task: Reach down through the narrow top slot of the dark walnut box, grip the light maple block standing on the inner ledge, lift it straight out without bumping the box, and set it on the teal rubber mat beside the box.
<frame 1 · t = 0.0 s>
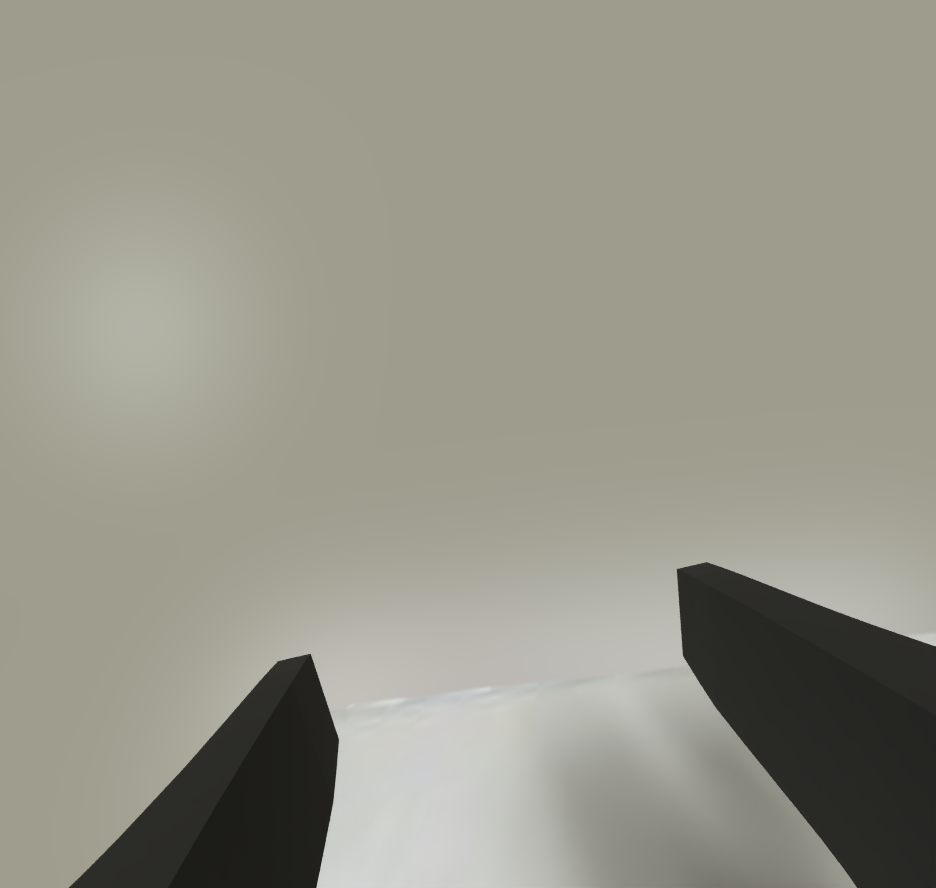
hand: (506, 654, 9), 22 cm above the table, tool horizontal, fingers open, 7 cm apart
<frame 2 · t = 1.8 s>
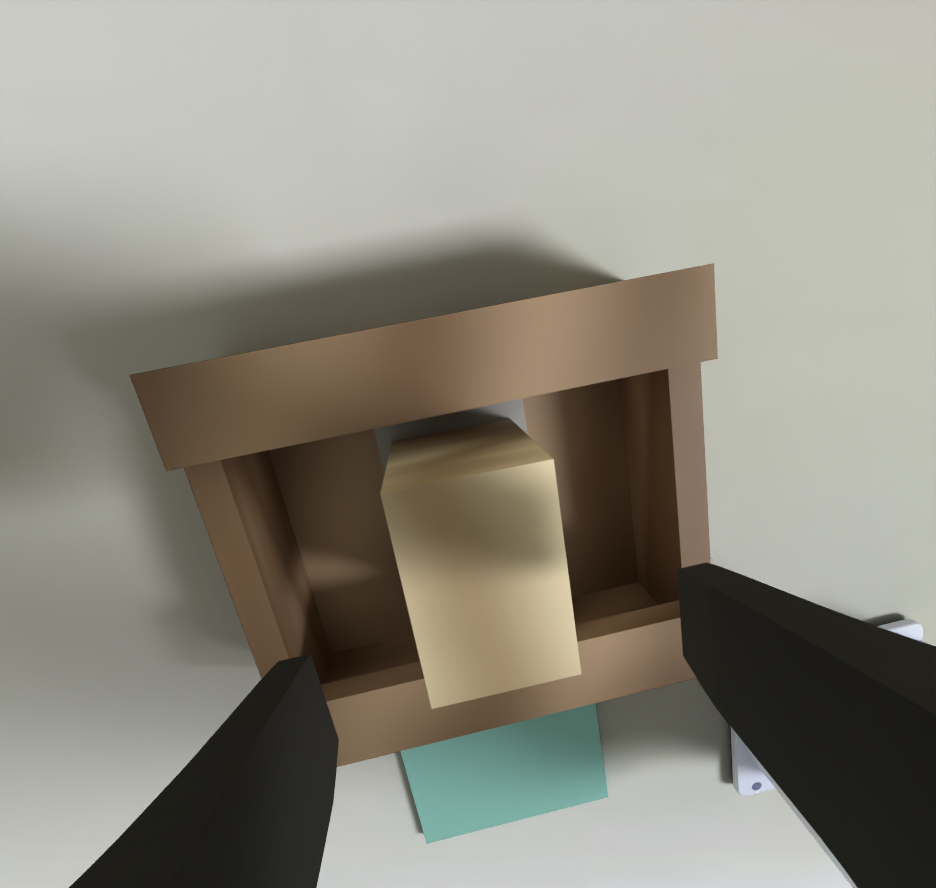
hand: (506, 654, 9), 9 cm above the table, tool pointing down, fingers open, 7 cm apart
slotted box: (461, 485, 18), on the table, touching maple block
maple block: (467, 512, 16), point 2 cm above the table, touching slotted box
teal mat: (501, 739, 21), on the table
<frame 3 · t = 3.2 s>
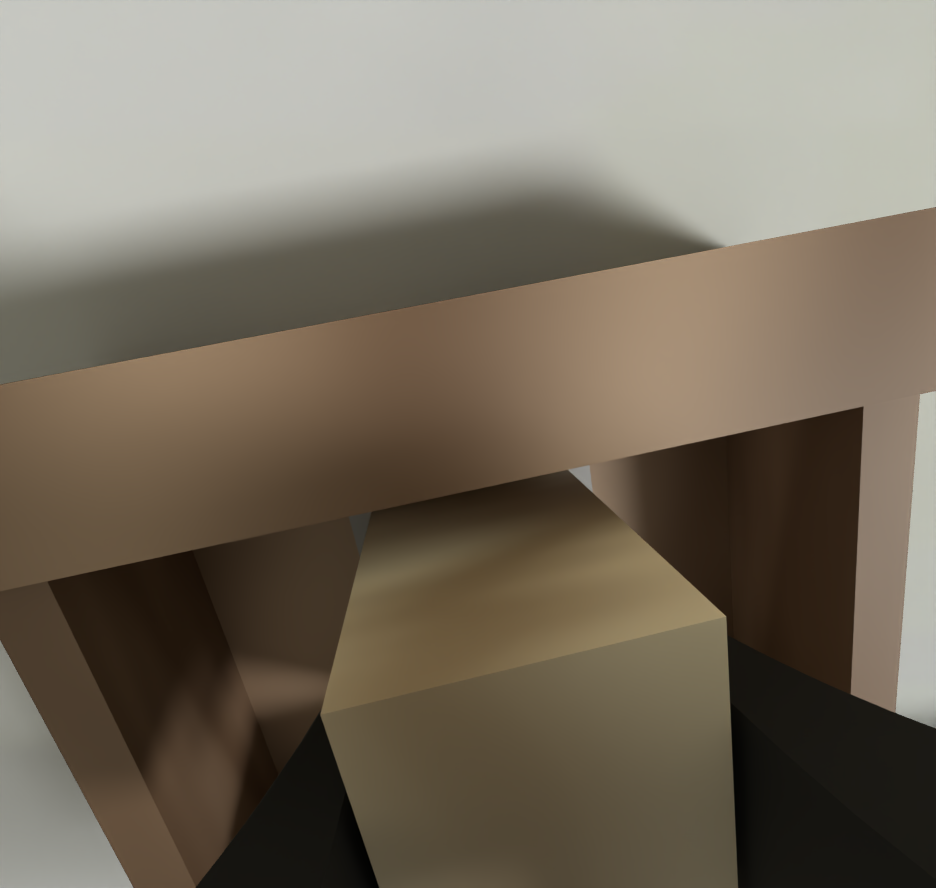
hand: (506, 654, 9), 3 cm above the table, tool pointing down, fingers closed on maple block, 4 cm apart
slotted box: (480, 558, 12), on the table
maple block: (495, 614, 10), point 2 cm above the table, touching gripper
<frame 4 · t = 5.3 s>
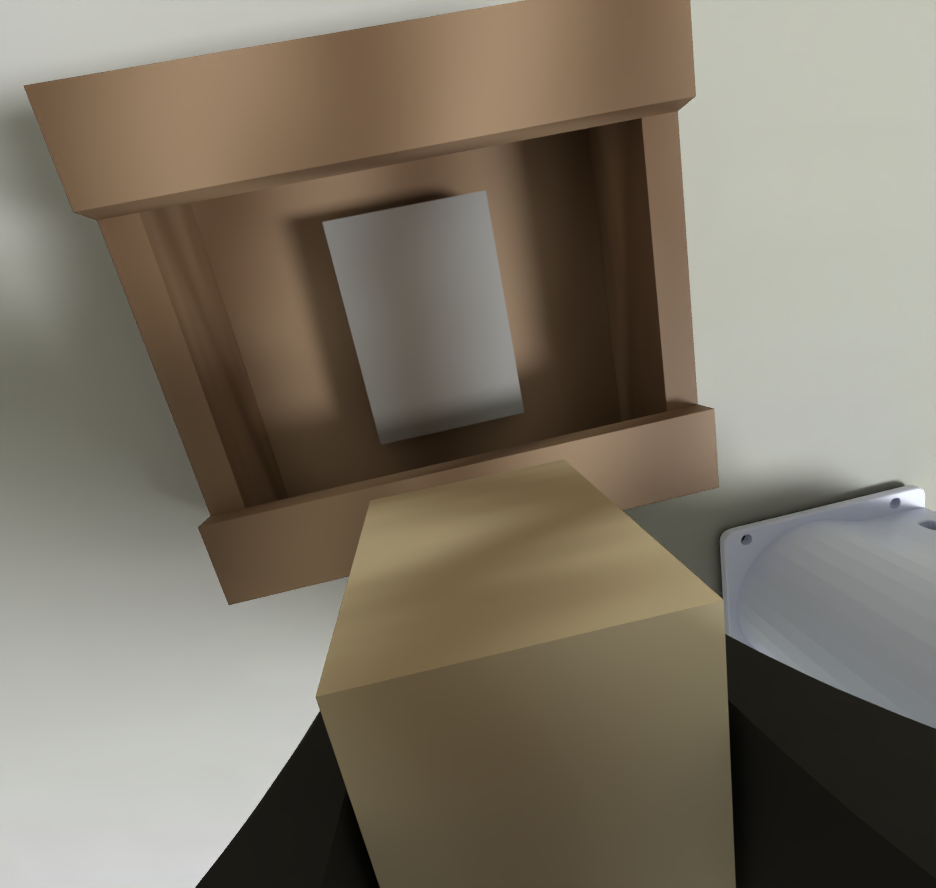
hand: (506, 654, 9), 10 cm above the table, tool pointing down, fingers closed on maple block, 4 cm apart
slotted box: (428, 325, 17), on the table
maple block: (493, 606, 10), point 9 cm above the table, touching gripper
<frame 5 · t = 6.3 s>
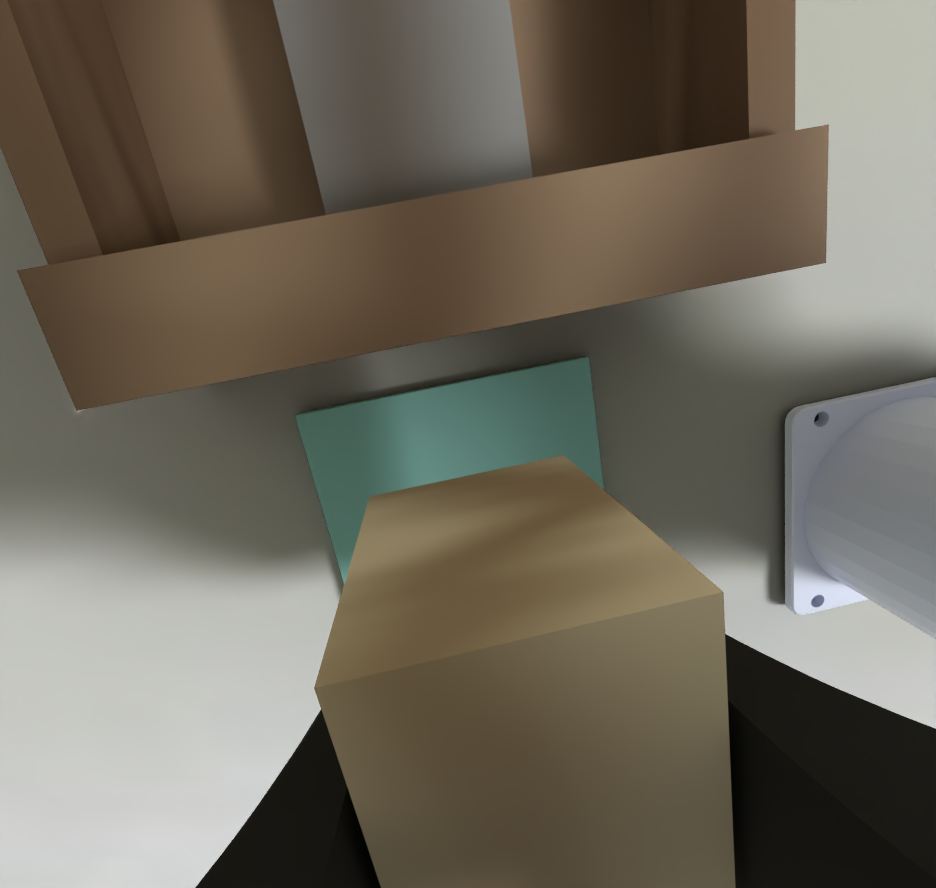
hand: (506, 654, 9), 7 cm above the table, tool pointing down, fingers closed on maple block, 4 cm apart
slotted box: (403, 89, 12), on the table
maple block: (492, 602, 10), point 5 cm above the table, touching gripper
teal mat: (470, 516, 15), on the table
when the fingers open (3 cm above the table, at t = 7.4 s): maple block drops 1 cm, resting on teal mat.
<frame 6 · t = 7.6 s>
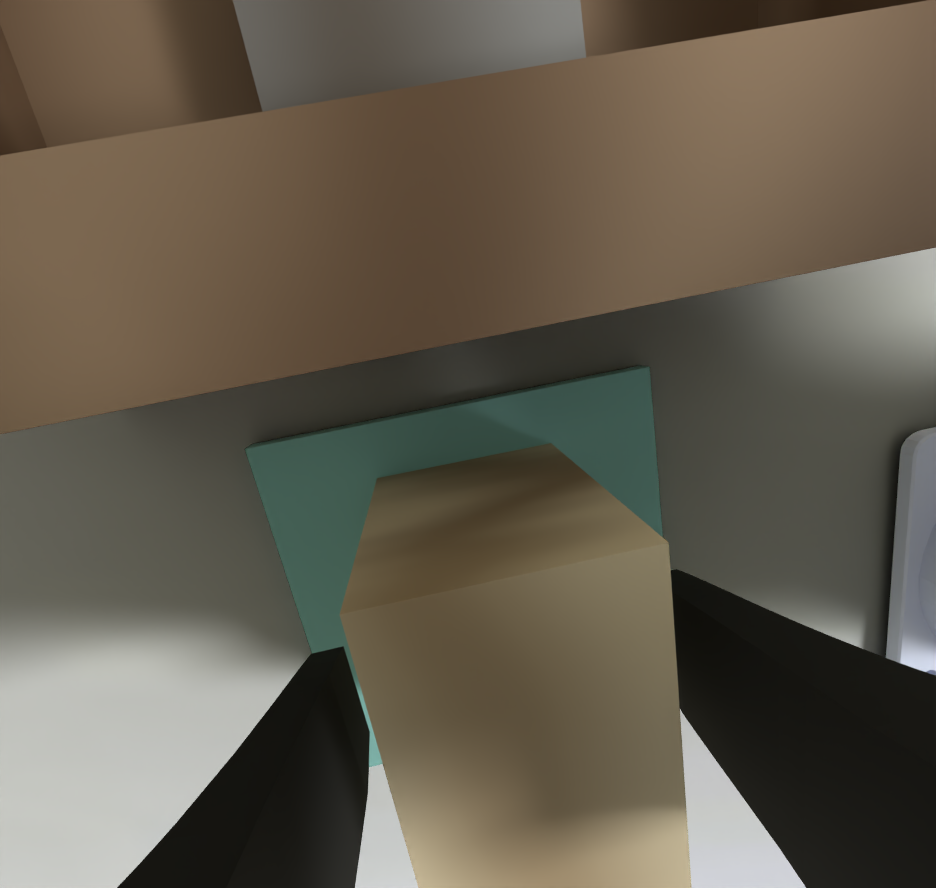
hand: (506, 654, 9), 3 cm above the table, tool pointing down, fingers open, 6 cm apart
maple block: (486, 576, 11), resting on teal mat
teal mat: (485, 577, 11), on the table
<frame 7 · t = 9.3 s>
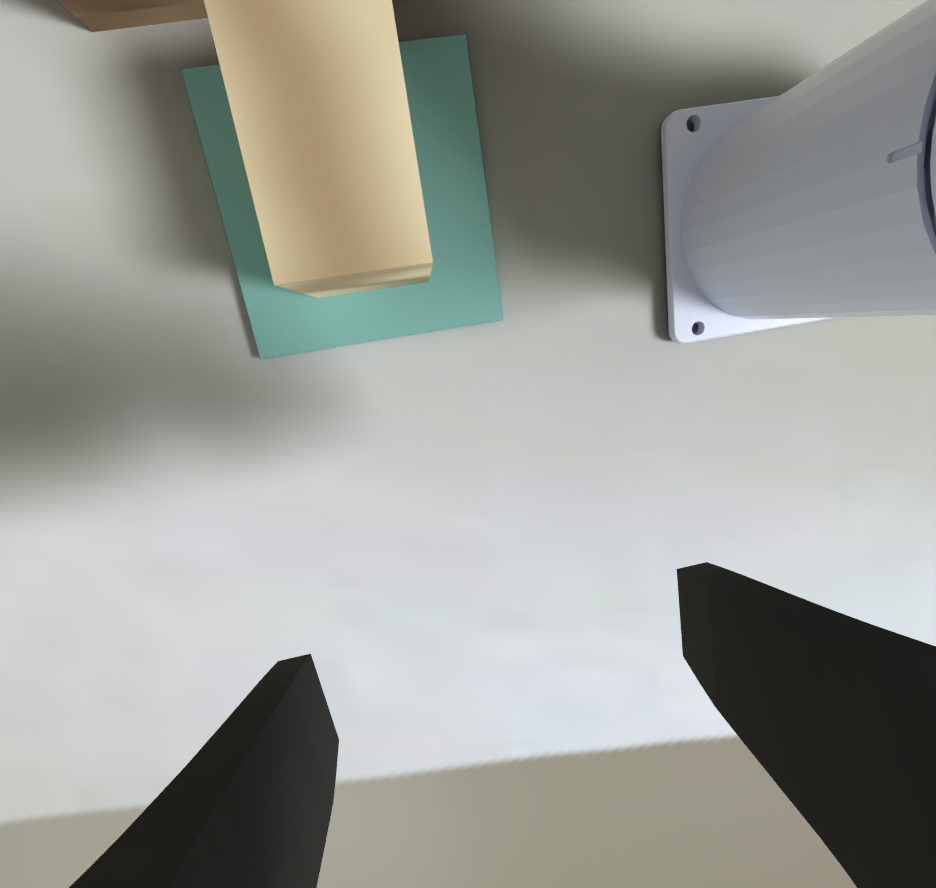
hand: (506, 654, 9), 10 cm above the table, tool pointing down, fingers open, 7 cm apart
maple block: (356, 198, 15), resting on teal mat
teal mat: (358, 209, 16), on the table
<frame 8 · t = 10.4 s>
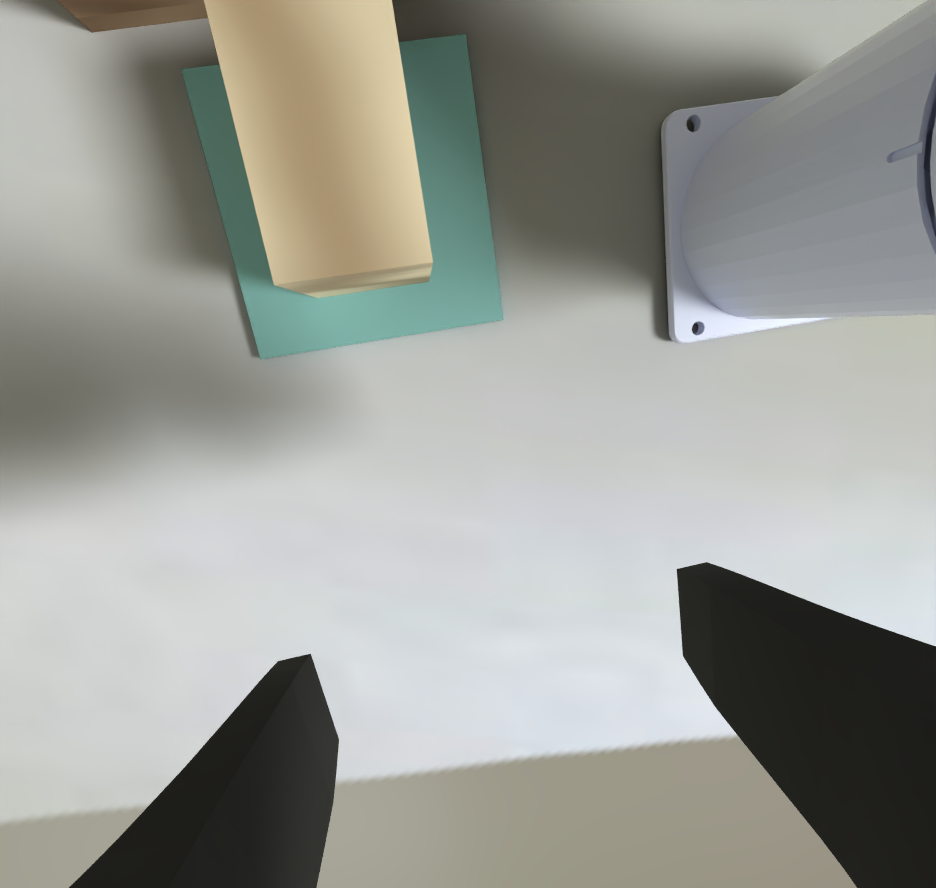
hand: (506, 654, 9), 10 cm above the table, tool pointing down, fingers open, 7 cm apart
maple block: (356, 198, 15), resting on teal mat
teal mat: (358, 209, 16), on the table
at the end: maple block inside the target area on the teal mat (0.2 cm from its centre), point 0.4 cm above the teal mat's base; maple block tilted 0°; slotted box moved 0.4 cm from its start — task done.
